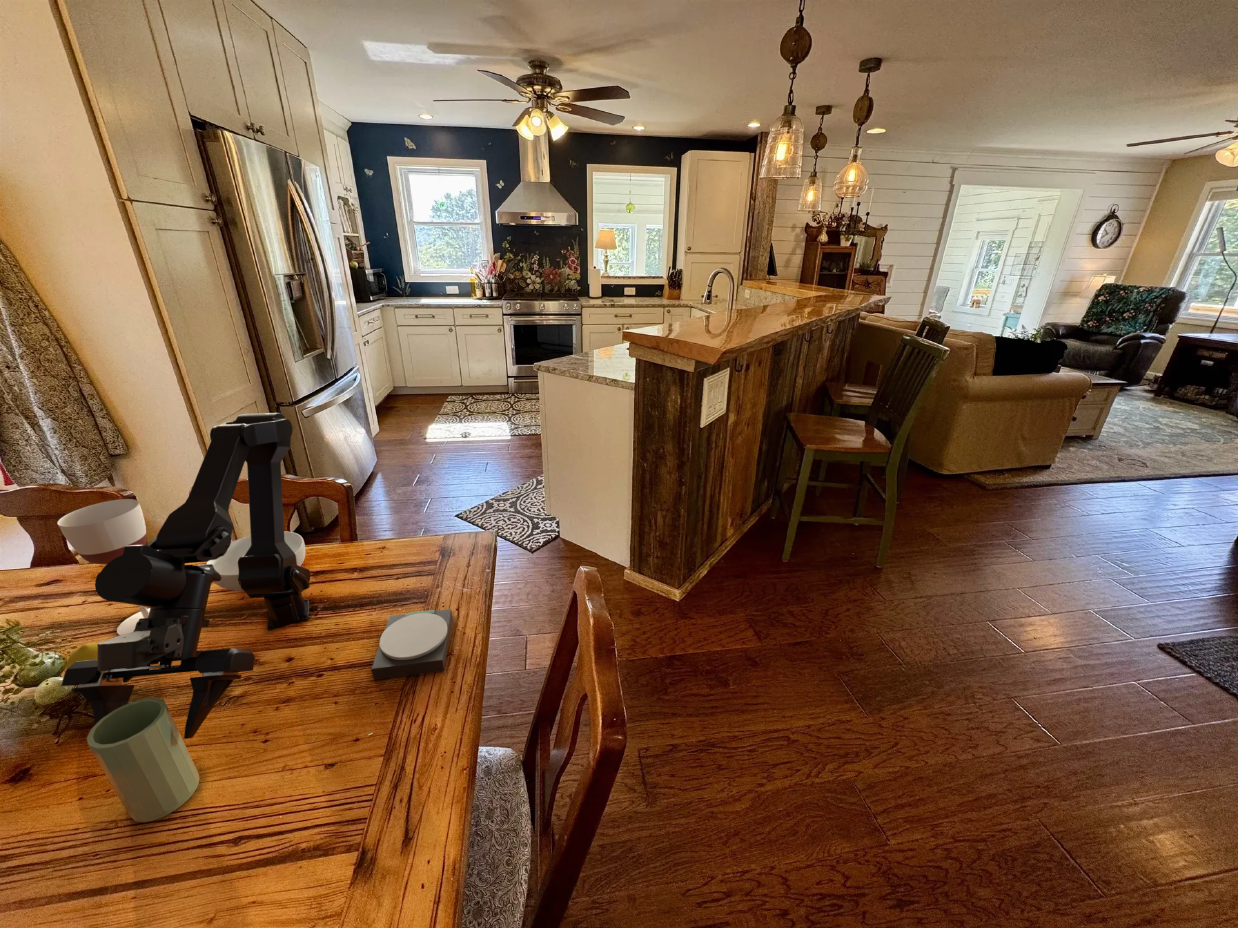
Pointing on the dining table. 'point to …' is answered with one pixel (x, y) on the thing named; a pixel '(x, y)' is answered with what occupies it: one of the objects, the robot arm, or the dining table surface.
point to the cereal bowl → (239, 548)
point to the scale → (413, 644)
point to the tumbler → (144, 759)
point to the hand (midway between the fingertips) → (146, 742)
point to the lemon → (83, 654)
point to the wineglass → (107, 537)
